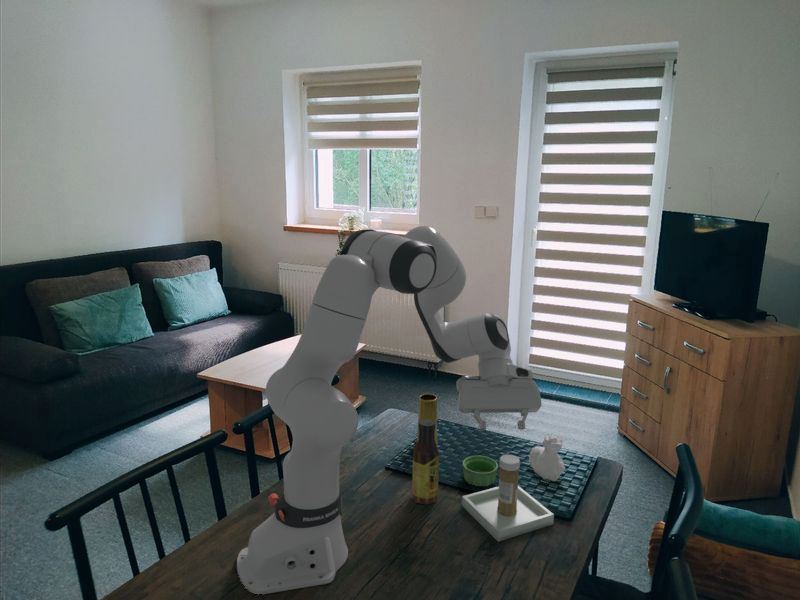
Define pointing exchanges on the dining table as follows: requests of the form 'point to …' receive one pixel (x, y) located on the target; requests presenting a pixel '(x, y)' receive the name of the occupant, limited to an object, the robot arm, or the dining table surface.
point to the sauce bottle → (425, 464)
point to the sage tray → (503, 526)
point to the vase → (428, 410)
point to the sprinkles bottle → (508, 485)
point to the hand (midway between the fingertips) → (502, 428)
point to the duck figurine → (547, 458)
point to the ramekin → (480, 470)
